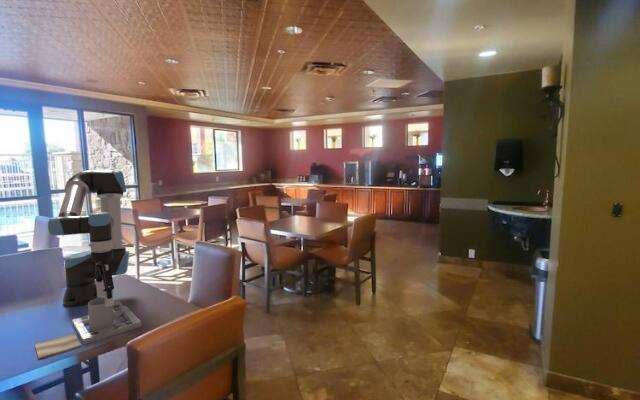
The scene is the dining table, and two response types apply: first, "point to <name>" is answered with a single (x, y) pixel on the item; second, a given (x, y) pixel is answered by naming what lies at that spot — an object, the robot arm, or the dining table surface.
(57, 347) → the coaster
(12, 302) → the dining table surface
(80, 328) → the grey square frame
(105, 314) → the mug
